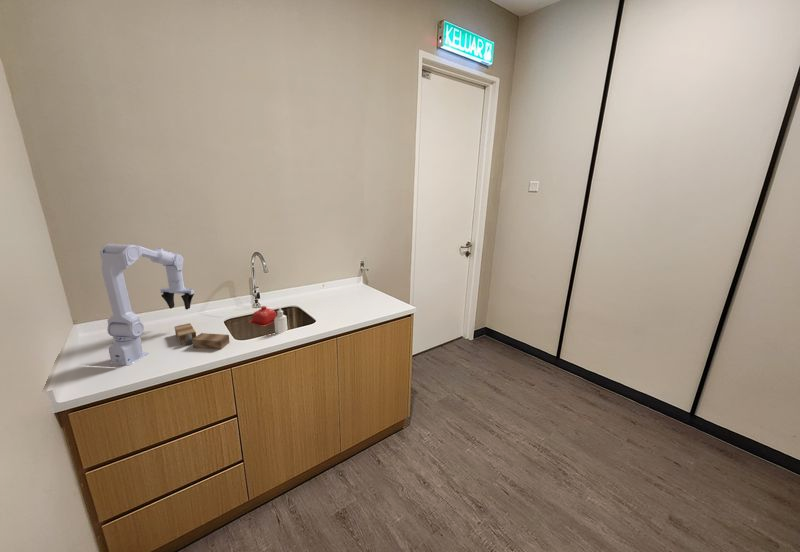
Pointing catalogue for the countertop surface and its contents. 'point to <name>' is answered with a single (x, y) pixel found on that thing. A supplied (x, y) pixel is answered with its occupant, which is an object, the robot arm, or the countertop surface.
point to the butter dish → (263, 316)
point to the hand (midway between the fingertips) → (179, 308)
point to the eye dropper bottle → (280, 322)
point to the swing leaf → (185, 334)
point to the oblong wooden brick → (210, 341)
